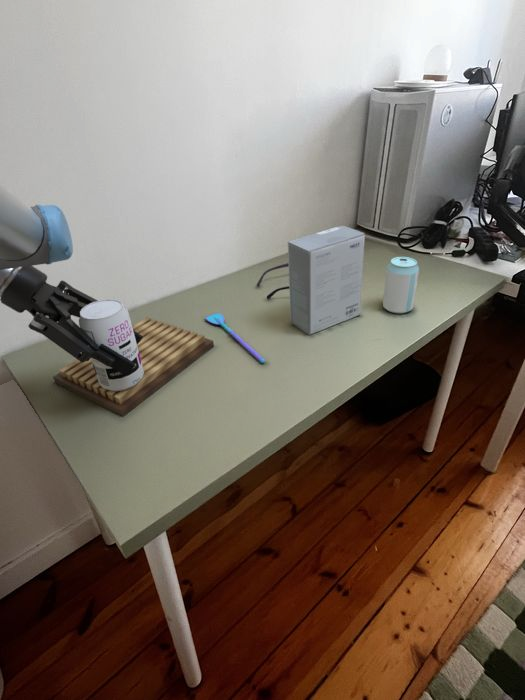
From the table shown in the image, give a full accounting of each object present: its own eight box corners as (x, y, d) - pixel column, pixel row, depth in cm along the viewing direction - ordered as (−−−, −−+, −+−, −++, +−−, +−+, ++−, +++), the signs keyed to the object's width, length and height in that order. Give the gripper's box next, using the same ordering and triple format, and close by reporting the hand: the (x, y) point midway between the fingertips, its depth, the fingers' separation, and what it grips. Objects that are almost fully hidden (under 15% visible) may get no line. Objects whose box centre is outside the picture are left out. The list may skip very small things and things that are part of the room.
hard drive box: (339, 303, 108) (343, 224, 97) (360, 315, 103) (368, 233, 92) (288, 322, 102) (287, 240, 90) (308, 336, 96) (309, 250, 85)
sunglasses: (326, 292, 114) (327, 274, 111) (270, 304, 110) (270, 286, 107) (305, 273, 125) (306, 256, 122) (254, 283, 121) (252, 266, 118)
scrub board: (123, 416, 77) (119, 403, 75) (54, 382, 86) (50, 370, 85) (214, 346, 95) (212, 334, 93) (148, 324, 104) (146, 313, 103)
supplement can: (110, 365, 85) (89, 297, 77) (150, 367, 84) (133, 297, 76) (92, 392, 78) (66, 320, 70) (135, 394, 77) (114, 321, 69)
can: (376, 305, 106) (381, 259, 100) (399, 298, 109) (405, 253, 102) (395, 317, 101) (401, 269, 94) (419, 310, 103) (427, 263, 97)
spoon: (202, 318, 105) (201, 314, 104) (217, 313, 107) (216, 309, 106) (260, 365, 88) (260, 360, 87) (276, 358, 89) (276, 353, 89)
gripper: (25, 271, 79) (132, 338, 89) (-30, 330, 61) (111, 405, 71) (45, 241, 76) (154, 313, 86) (-7, 293, 59) (137, 376, 68)
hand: (134, 355), depth 78 cm, fingers closed on supplement can, 8 cm apart
